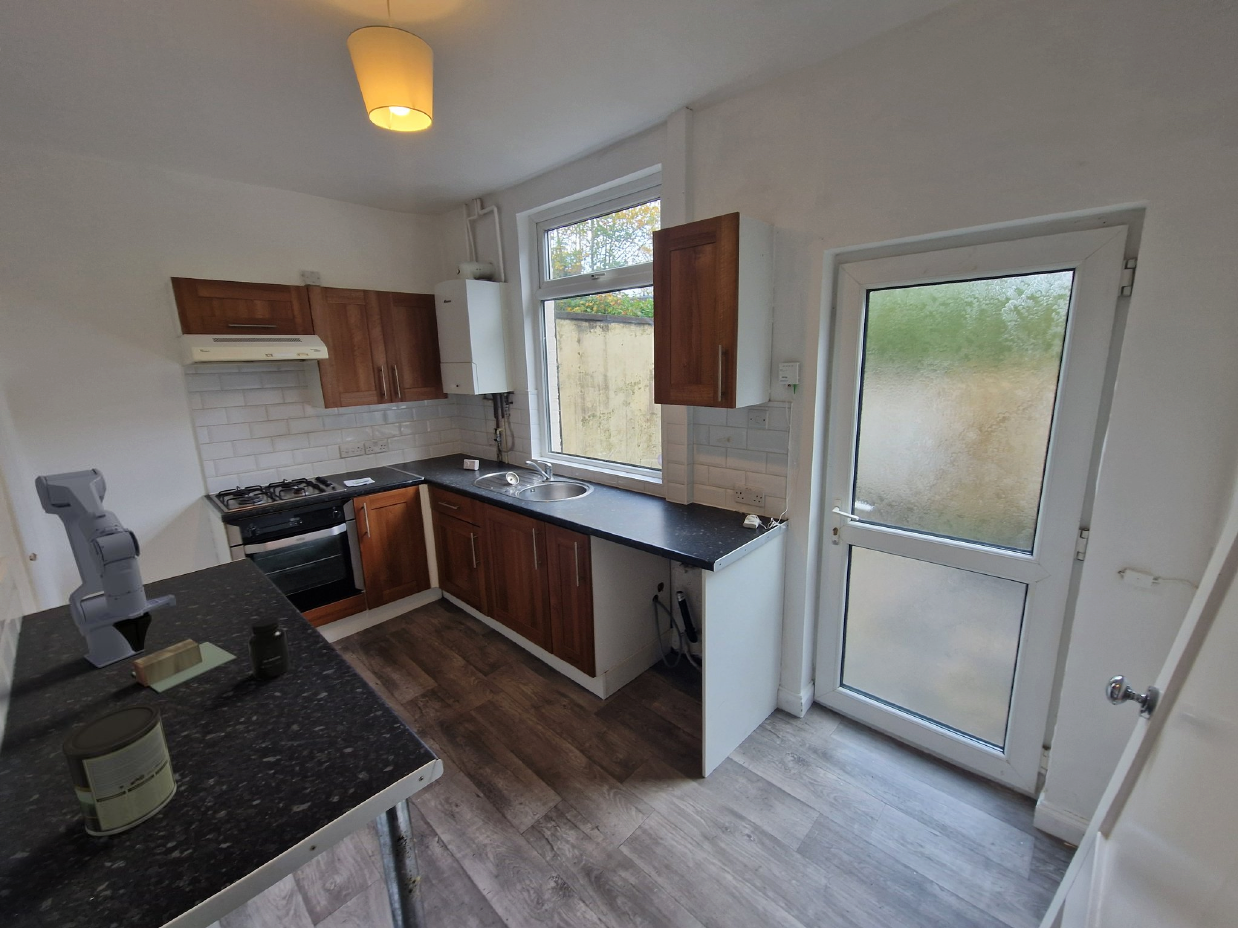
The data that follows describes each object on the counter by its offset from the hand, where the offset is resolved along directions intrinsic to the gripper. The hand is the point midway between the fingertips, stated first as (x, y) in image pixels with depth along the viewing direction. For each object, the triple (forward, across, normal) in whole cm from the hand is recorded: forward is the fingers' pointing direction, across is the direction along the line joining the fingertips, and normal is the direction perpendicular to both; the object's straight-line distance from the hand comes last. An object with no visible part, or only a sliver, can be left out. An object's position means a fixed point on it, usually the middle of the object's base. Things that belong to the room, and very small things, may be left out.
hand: (138, 649), depth 105 cm
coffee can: (+8, -14, -38) cm, 41 cm away
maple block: (+5, -1, 0) cm, 5 cm away
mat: (+8, +7, 0) cm, 10 cm away
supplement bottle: (+8, +15, -20) cm, 26 cm away
